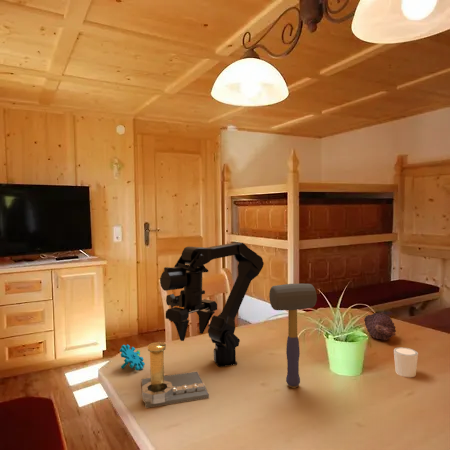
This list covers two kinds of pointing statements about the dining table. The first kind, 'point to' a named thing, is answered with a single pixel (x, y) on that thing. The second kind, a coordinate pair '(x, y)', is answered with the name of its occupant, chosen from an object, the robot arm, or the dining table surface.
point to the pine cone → (380, 326)
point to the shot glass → (405, 361)
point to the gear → (131, 357)
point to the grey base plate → (179, 381)
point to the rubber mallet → (292, 320)
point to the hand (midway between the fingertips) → (192, 337)
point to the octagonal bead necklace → (168, 391)
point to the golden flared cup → (157, 365)
